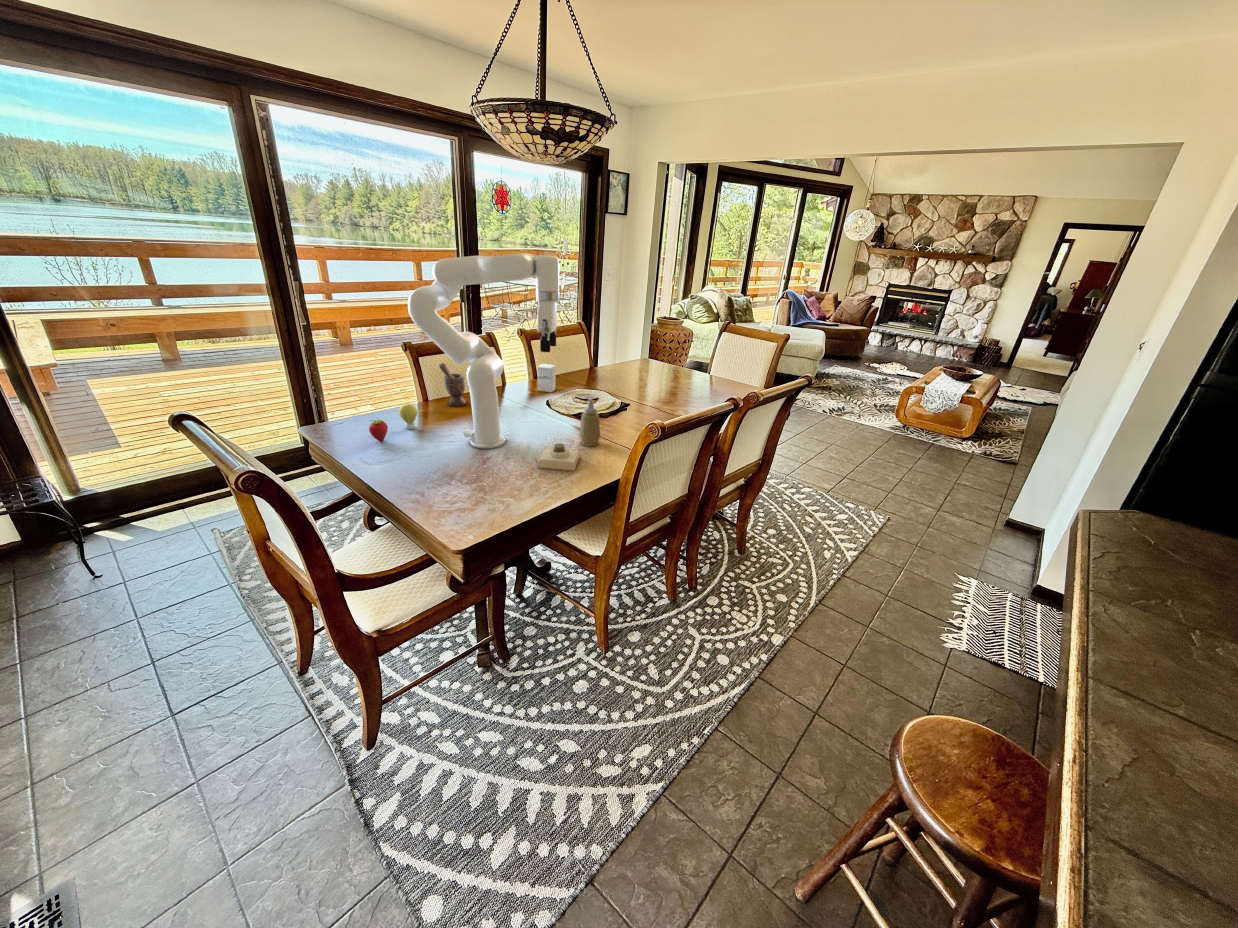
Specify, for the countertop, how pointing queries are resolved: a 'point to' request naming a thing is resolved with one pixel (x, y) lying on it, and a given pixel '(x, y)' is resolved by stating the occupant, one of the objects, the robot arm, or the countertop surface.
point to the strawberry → (378, 429)
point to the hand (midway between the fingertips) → (548, 348)
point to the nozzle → (559, 447)
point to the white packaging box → (546, 378)
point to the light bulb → (408, 414)
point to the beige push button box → (559, 459)
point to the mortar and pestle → (454, 386)
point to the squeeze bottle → (590, 425)
